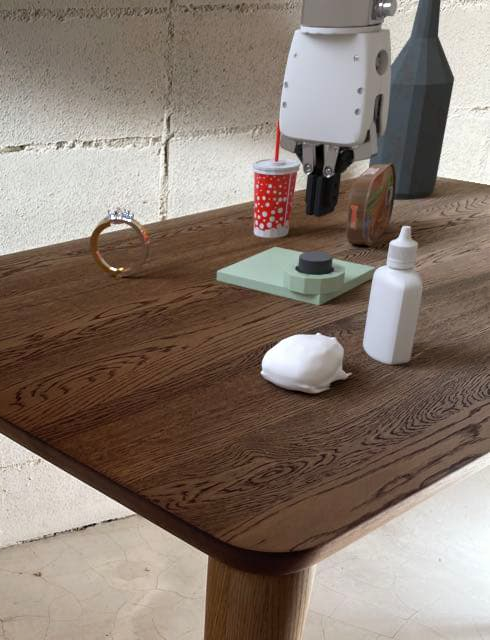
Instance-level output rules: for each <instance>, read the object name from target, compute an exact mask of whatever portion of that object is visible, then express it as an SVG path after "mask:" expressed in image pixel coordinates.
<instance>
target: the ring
mask: <svg viewBox="0 0 490 640" xmlns="http://www.w3.org/2000/svg"><path fill="white" fill-rule="evenodd" d="M134 217H135V212H131V210H130V209H129V210H128V209H127V208H123V209H122V210H121V207H120V206H119V207H118V206H117V207H116V210H114V211H113V213H112V212H111V209H107V215H106V216H104V218H102V219H101V220H100V221H99V222H98V223H97V225H96V226H95V228H94V230H93V231H92V233H91V235H90V239H89V246H90V252H91V255H92V258H93V259H94V261H95V263H96V264H97V266H98V267H99V268H100V269H101V270H102V271H103V272H105V273H106V274H108V275H111V276H113V277H115V278H117V279H123V277H129V276H132V275H134V274H135V273H137V272H138V271H139V270H140V269H141V268H142V267H143V266H144V264H145V263H146V261H147V258H148V256H149V251H150V239H149V235H148V232H147V230H146V228H145V227H144V226H143V225H142V223H141V222H139V221H138V220H137V219H135V218H134ZM123 224H125V225H127V226H130V227H131V228H132V229H133V230H134V231H135V232H136V234H137V236H138V239H139V241H140V246H141V250H140V251H141V252H140V257H139V260H138V262H137V263H136V264H135V265H134V266H133V267H131V268H127V269H125V268H124V267H118V268H115V267H112V266H110V264H108V263H107V261H105V260H104V258H103V256H102V254H101V252H100V249H99V237H100V235H101V234H102V232H103V231H105V230H106V229H108V228H110V227H111V226H112V225H123Z"/></svg>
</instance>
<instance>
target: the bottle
mask: <svg viewBox="0 0 490 640" xmlns="http://www.w3.org/2000/svg"><path fill="white" fill-rule="evenodd" d="M441 1H442V0H418V3H417V8H416V12H415V16H414V21H413V24H412V27H411V33H410V36H409V38H408V40H407V41H406V42H405V44H404V46H403V47H402V49H401V50H400V52H399V53H398V55H397V56H396V58H395V59H394V60H393V62H391V82H390V97H389V109H388V118H387V125H386V130H385V133H384V135H383V136H382V137H381V138H379V139H377V147H378V153H377V155H376V156H375V157H373V158H370V159H369V162H368V168H370V167H371V166H372V165H377V164H390V163H392V164H393V165H394V167H395V174H396V187H395V197H394V200H412V199H420V198H426V197H429V196H430V195H431V194H432V193H433V192H434V190H435V188H436V183H437V178H438V172H439V168H440V161H441V156H442V150H443V145H444V139H445V133H446V127H447V124H448V123H447V122H448V116H449V111H450V105H451V99H452V95H453V89H454V84H455V77H454V74H453V71H452V69H451V66H450V63H449V61H448V58H447V56H446V53H445V50H444V48H443V45H442V42H441V40H440V37H439V29H440V27H439V26H440V15H441Z"/></svg>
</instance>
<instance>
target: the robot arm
mask: <svg viewBox="0 0 490 640" xmlns="http://www.w3.org/2000/svg"><path fill="white" fill-rule="evenodd" d="M397 9H398V1H397V0H302V5H301V15H300V28H299V29H295V31H294V33H293V37H292V41H291V44H290V47H289V52H288V56H287V61H286V64H285V65H286V66H285V72H284V77H283V83H282V90H281V97H280V104H279V105H280V106H279V119H278V120H279V126H280V132H281V133H280V135H281V136H280V146H279V147H280V148H281V149H283V150H286V151H288V152H289V153H292V154H295V155H296V157H297V159H298V161H299V162H300V164H301V165H302V172H303V173H304V174H305V175H307V176H306V187H305V195H304V202H305V204H306V205H305V215H306V216H315V217H316V218H322V217H324V216H327V215H329V214H331V213H333V212H334V211H335V209H336V206H337V204H338V201H339V195H340V187H341V177H342V174H343V173H345V172H346V171H347V169H349V167H350V166H352V164H353V163H355V162H358V161H365V160H366V161H367V160H370V158H373V157H375V156H376V155H377V153H378V147H377V139H379V138H381V137H382V136H383V135H384V133H385V130H386V125H387V118H388V109H389V97H390V82H391V65H392V48H391V47H392V43H391V30H390V29H389V28H382V26H383V24H384V23H385V18H386V17H394V16H395V14H396V13H397Z"/></svg>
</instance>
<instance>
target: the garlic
mask: <svg viewBox="0 0 490 640" xmlns="http://www.w3.org/2000/svg"><path fill="white" fill-rule="evenodd" d="M337 339H338V338H337V337H335V336H333V337H332V336H328V335H324V334H322V333H321V332H317V333H316V334H304V333H303V334H302V333H301V334H294V335H292V336H289V337H286V338H284V339H282V340H280V341H278V343H276V344H275V345H274V346H273V347H272V348H269V350H267V352H266V353H265V355H264V356H263V358H262V361H261V369H262V370H261V371H260V375H261V376H262V377H263V378H264V379H265V380H267V381H268V382H270V383H272V384H274V385H275V386H277V387H279V388H282V389H285V390H289V391H298V392H302V393H303V392H304V393H307V394H319V393H322V392H324V391H326V390H329V389H331V387H329V386H331V383H333V382H335V381H339V380H346V379H348V377H349V376H351V375H353V373H352V372H348V373H346V372H345V370H343V362H344V361H343V360H344V355H345V349H344V347H343V345H341V343H340V342H339V341H338V340H337Z"/></svg>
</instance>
